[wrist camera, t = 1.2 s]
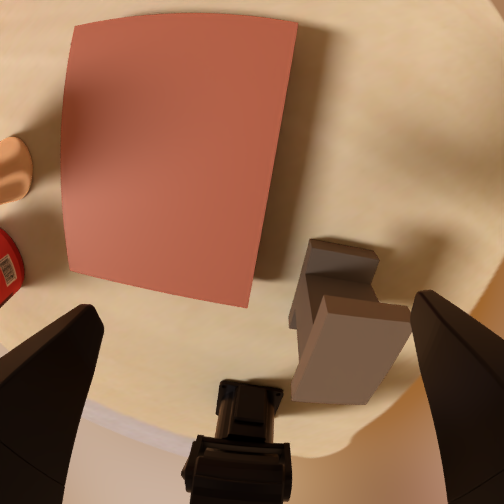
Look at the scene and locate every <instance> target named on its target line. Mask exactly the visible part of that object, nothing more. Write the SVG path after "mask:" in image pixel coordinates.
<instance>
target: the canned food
mask: <svg viewBox="0 0 504 504" xmlns="http://www.w3.org/2000/svg"><path fill="white" fill-rule="evenodd" d="M24 275H25V274H24V266H23V261H22V258H21V255H20V253H19V251H18V249H17V247H16V245H15V243H14V242H13V240H12V239H11V238H10V236H9V235H8V234H7V233H6V232H5V231H4V230H2V229H1V228H0V308H1V307H2V306H3V305H4V304H5V303H6V302H7V301H8V300H9V299H10V298H11V297H12V296H13V295H14V294H15V293H16V292H17V291H18V290H19V289H20V287H21V285H22V283H23V281H24Z"/></svg>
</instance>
